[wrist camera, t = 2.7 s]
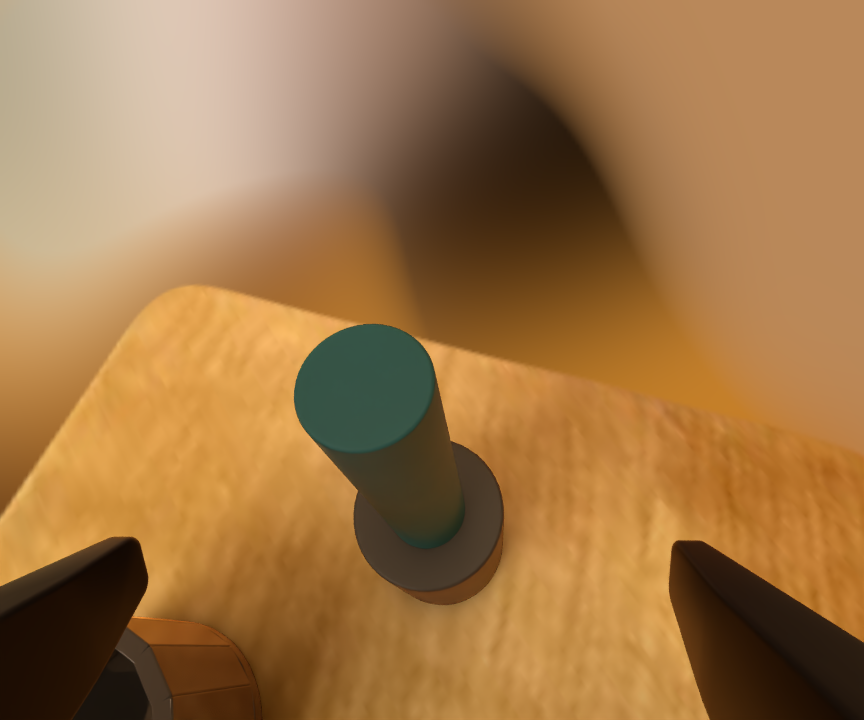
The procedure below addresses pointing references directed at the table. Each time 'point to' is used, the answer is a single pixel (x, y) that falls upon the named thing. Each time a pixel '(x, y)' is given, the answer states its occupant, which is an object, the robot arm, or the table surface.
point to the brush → (402, 463)
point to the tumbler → (173, 676)
